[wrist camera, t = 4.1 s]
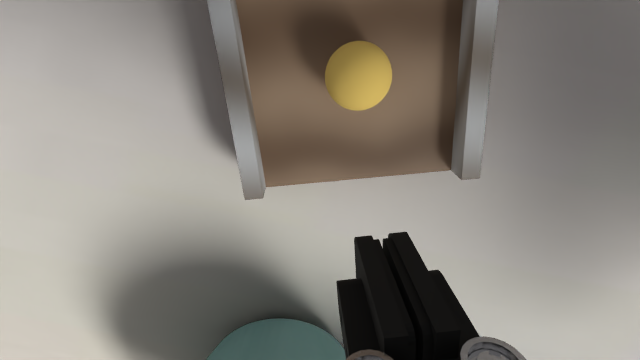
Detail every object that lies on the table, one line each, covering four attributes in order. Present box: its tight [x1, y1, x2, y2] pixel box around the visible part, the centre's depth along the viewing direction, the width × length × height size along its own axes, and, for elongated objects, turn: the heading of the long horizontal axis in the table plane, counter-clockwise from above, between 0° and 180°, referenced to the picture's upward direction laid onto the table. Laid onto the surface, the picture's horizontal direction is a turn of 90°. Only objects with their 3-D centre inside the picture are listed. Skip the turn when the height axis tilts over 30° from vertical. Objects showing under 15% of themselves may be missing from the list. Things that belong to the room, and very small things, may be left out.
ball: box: [325, 41, 392, 111], centre depth 16 cm, size 3×3×3 cm
